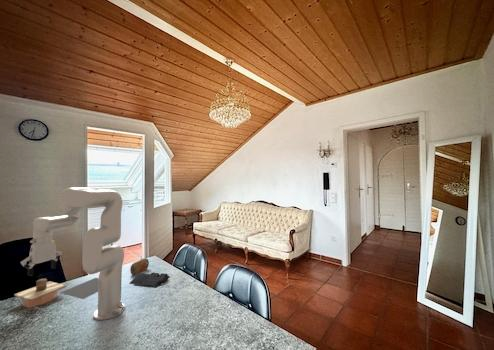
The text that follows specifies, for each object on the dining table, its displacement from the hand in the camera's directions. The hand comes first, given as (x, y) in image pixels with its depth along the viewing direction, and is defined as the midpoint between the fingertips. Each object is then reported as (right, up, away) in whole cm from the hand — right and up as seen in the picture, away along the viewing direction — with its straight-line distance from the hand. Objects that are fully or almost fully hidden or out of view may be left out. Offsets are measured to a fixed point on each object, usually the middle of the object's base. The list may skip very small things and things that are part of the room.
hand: (42, 272), depth 112 cm
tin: (+35, -17, +35) cm, 52 cm away
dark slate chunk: (+48, -17, +21) cm, 55 cm away
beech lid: (0, -10, 0) cm, 10 cm away
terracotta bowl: (0, -15, -1) cm, 15 cm away
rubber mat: (+16, -16, +13) cm, 26 cm away
